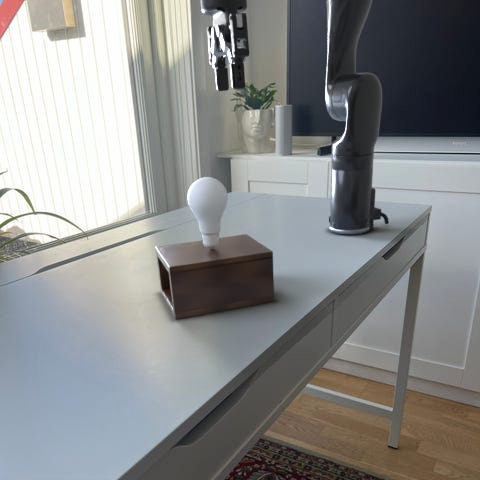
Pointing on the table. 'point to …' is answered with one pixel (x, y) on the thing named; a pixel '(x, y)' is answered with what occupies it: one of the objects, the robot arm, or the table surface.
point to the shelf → (215, 275)
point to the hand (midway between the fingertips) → (230, 89)
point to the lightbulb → (208, 207)
